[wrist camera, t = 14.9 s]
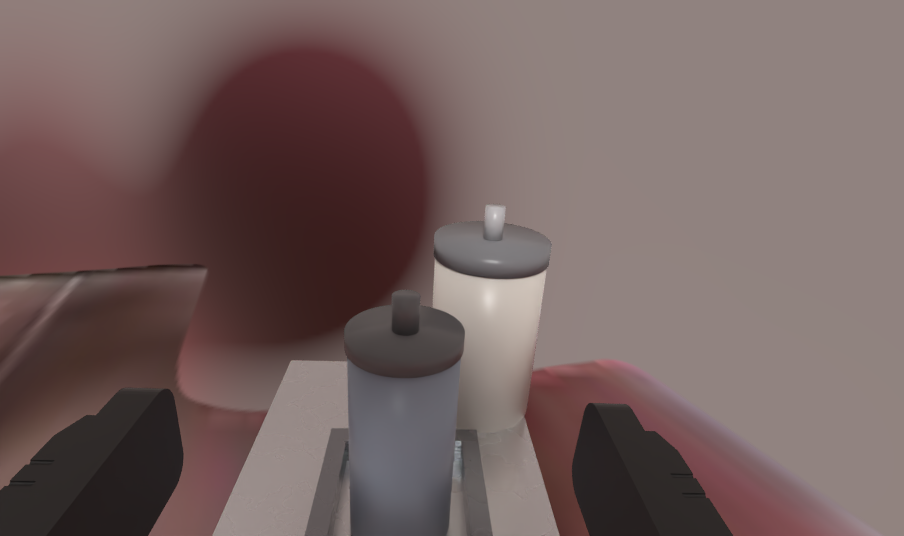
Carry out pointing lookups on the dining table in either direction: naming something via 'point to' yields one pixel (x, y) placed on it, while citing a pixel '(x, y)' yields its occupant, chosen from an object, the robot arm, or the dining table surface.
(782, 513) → the dining table surface
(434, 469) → the grey lidded canister
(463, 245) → the white lidded canister
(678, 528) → the robot arm
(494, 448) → the mounting plate
